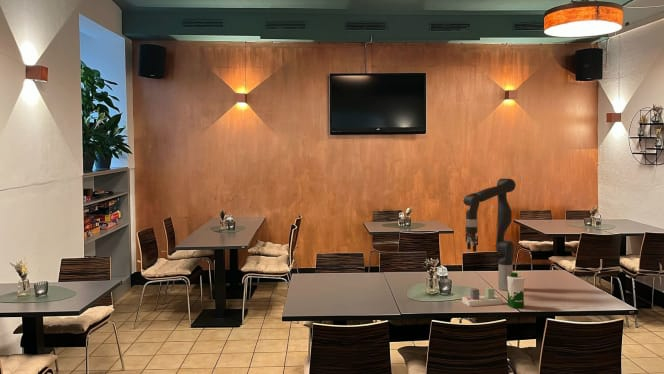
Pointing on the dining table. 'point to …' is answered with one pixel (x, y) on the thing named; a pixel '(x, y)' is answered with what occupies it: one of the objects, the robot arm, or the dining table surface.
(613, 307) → the dining table surface
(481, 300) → the white plate with window
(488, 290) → the green plug
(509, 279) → the milk carton
